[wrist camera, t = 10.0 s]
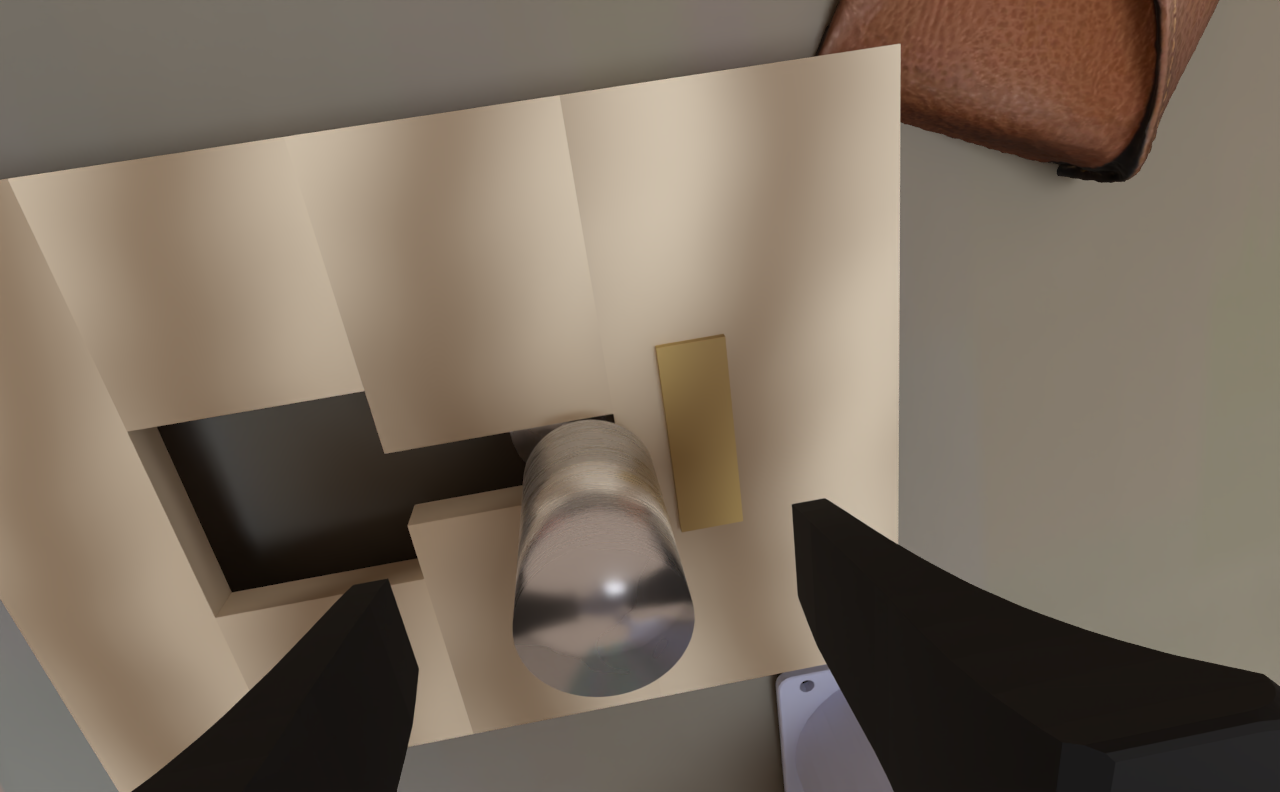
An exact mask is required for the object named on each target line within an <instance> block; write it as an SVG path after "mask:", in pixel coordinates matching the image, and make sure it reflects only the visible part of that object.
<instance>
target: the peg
mask: <svg viewBox="0 0 1280 792" xmlns="http://www.w3.org/2000/svg"><path fill="white" fill-rule="evenodd" d="M510 435H511V438H512V442H513V444H514V446H515V449H516V451H517V452H518V454H519V455H520V457H521V458H522V460H523V461H524V462H525V463H526V466H525V470H524V477H523V490H522V504H521V518H520V531H519V545H518V558H517V572H516V585H515V599H514V613H513V639H514V645H515V647H516V650H517V653H518V655H519V657H520V659H521V660H522V662H523V663H524V665H525V666H526V667H527V669H528V670H529V671H530V672H531V673H532V674H533V675H534V676H535V677H537V678H538V679H539V680H541V681H542V682H543V683H545V684H547V685H549V686H551V687H552V688H555V689H557V690H560V691H562V692H566V693H569V694H573V695H578V696H585V697H608V696H615V695H620V694H625V693H629V692H632V691H634V690H637V689H640V688H642V687H644V686H646V685H649V684H650V683H652V682H654V681H655V680H657V679H659V678H660V677H661V676H663V675H664V674H665V673H667V672H668V671H669V670H670V669H671V668H672V667H673V666H674V665H675V664H676V663H677V662H678V660H679V659H680V658H681V657H682V655H683V654H684V652H685V650H686V649H687V647H688V645H689V642H690V640H691V637H692V634H693V630H694V622H695V615H694V607H693V602H692V598H691V595H690V591H689V588H688V584H687V581H686V577H685V574H684V570H683V567H682V563H681V559H680V556H679V552H678V549H677V545H676V542H675V538H674V535H673V531H672V528H671V524H670V521H669V517H668V514H667V510H666V507H665V503H664V500H663V496H662V493H661V489H660V486H659V482H658V479H657V475H656V471H655V468H654V464H653V461H652V458H651V456H650V453H649V451H648V450H647V448H646V446H645V445H644V444H643V442H642V441H641V440H640V439H639V438H638V437H637V436H636V435H635V434H633V433H632V432H631V431H629V430H627V429H626V428H624V427H622V426H620V425H617V424H615V422H614V417H613V414H608V415H603V416H597V417H591V418H586V419H580V420H574V421H569V422H563V423H557V424H552V425H546V426H540V427H534V428H529V429H523V430H517V431H512V432H510Z"/></svg>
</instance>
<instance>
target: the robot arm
mask: <svg viewBox="0 0 1280 792" xmlns="http://www.w3.org/2000/svg"><path fill="white" fill-rule="evenodd" d="M792 517H793V532H794V547H795V562H796V578H797V593H798V598H799V601H800V604H801V606H802V609H803V612H804V614H805V617H806V620H807V622H808V625H809V627H810V630H811V632H812V635H813V637H814V640H815V642H816V645H817V647H818V649H819V651H820V653H821V654H822V656H823V658H824V660H825V662H826V664H825V665H820V666H815V667H810V668H805V669H799V670H794V671H789V672H784V673H782V674H781V675H779V677H778V678H777V680H776V695H777V707H778V719H779V731H780V742H781V754H782V766H783V778H784V790H785V792H1280V686H1279V685H1277V684H1276V683H1275V682H1273V681H1272V680H1271V679H1269V678H1268V677H1267V676H1265V675H1264V674H1260V673H1256V672H1251V671H1246V670H1242V669H1237V668H1232V667H1227V666H1223V665H1218V664H1213V663H1209V662H1204V661H1199V660H1195V659H1190V658H1185V657H1181V656H1176V655H1172V654H1168V653H1164V652H1161V651H1157V650H1153V649H1150V648H1146V647H1142V646H1139V645H1135V644H1131V643H1128V642H1124V641H1120V640H1117V639H1114V638H1111V637H1107V636H1104V635H1101V634H1098V633H1094V632H1091V631H1088V630H1085V629H1082V628H1079V627H1076V626H1073V625H1071V624H1068V623H1065V622H1062V621H1059V620H1056V619H1054V618H1051V617H1048V616H1045V615H1042V614H1040V613H1037V612H1035V611H1032V610H1029V609H1027V608H1024V607H1022V606H1019V605H1017V604H1015V603H1012V602H1010V601H1008V600H1005V599H1003V598H1001V597H999V596H996V595H994V594H992V593H989V592H987V591H985V590H982V589H980V588H978V587H976V586H974V585H972V584H970V583H968V582H966V581H964V580H962V579H960V578H958V577H956V576H954V575H952V574H950V573H948V572H946V571H944V570H943V569H941V568H939V567H937V566H935V565H933V564H931V563H929V562H928V561H926V560H924V559H922V558H920V557H919V556H917V555H915V554H913V553H912V552H910V551H908V550H907V549H905V548H903V547H902V546H900V545H898V544H897V543H895V542H893V541H892V540H890V539H888V538H887V537H885V536H884V535H882V534H880V533H879V532H877V531H876V530H874V529H873V528H871V527H869V526H868V525H866V524H865V523H863V522H862V521H860V520H859V519H857V518H855V517H854V516H852V515H851V514H849V513H848V512H846V511H845V510H843V509H842V508H840V507H839V506H837V505H835V504H834V503H832V502H831V501H829V500H827V499H826V498H823V499H817V500H812V501H806V502H801V503H795V504H792ZM418 674H419V667H418V664H417V661H416V658H415V655H414V652H413V650H412V647H411V644H410V641H409V638H408V635H407V632H406V629H405V626H404V623H403V620H402V617H401V614H400V611H399V608H398V606H397V603H396V600H395V597H394V594H393V591H392V588H391V585H390V582H389V579H383V580H377V581H372V582H366V583H361V584H355V585H353V586H352V587H350V588H349V589H348V590H347V591H346V592H345V593H344V594H343V595H342V596H341V597H340V598H339V599H338V600H337V601H336V602H335V603H334V604H333V605H332V606H331V608H330V609H329V610H328V611H327V612H326V613H325V614H324V615H323V616H322V617H321V618H320V619H319V620H318V621H317V622H316V623H315V624H314V626H313V627H312V628H311V629H310V630H309V631H308V632H307V633H306V634H305V635H304V636H303V637H302V638H301V639H300V640H299V641H298V642H297V643H296V644H295V646H294V647H293V648H292V649H291V650H290V651H289V652H288V653H287V654H286V655H285V656H284V657H283V658H282V659H281V660H280V661H279V662H278V663H277V664H276V665H275V666H274V667H273V668H272V669H271V670H270V671H269V672H268V673H267V674H266V675H265V676H264V677H263V678H262V679H261V680H260V681H259V682H258V683H257V684H256V685H255V686H254V687H253V688H252V689H251V690H250V691H249V692H248V693H247V694H246V695H244V696H243V697H242V698H241V699H240V700H239V701H238V702H237V703H236V704H235V705H234V706H233V707H232V708H231V709H230V710H229V711H228V712H227V713H226V714H225V715H224V716H223V717H221V718H220V719H219V720H218V721H217V722H216V723H215V724H214V725H213V726H212V727H210V728H209V729H208V730H207V731H206V732H205V733H204V734H202V735H201V736H200V737H199V738H198V739H197V740H196V741H194V742H193V743H192V744H191V745H189V746H188V747H187V748H186V749H185V750H183V751H182V752H181V753H180V754H179V755H177V756H176V757H175V758H174V759H173V760H171V761H170V762H169V763H168V764H167V765H165V766H164V767H163V768H162V769H160V770H159V771H158V772H157V773H155V774H154V775H153V776H152V777H150V778H149V779H148V780H146V781H145V782H144V783H142V784H141V785H139V786H138V787H137V788H135V789H134V790H133V791H131V792H397V788H398V784H399V780H400V776H401V772H402V768H403V764H404V760H405V755H406V751H407V747H408V743H409V739H410V735H411V730H412V726H413V719H414V711H415V704H416V694H417V684H418ZM806 680H809V681H808V682H806V683H802V682H804V681H806Z"/></svg>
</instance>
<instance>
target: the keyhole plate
mask: <svg viewBox="0 0 1280 792" xmlns="http://www.w3.org/2000/svg"><path fill="white" fill-rule="evenodd" d="M900 75H901V44H894V45H888V46H881V47H874V48H868V49H861V50H855V51H848V52H841V53H835V54H828V55H822V56H815V57H808V58H802V59H795V60H789V61H782V62H775V63H769V64H762V65H756V66H749V67H742V68H736V69H729V70H722V71H716V72H709V73H703V74H696V75H689V76H683V77H676V78H670V79H663V80H656V81H650V82H643V83H637V84H630V85H623V86H617V87H610V88H604V89H597V90H590V91H584V92H577V93H571V94H564V95H557V96H551V97H544V98H538V99H531V100H524V101H518V102H511V103H505V104H498V105H491V106H485V107H478V108H471V109H465V110H458V111H452V112H445V113H438V114H432V115H425V116H419V117H412V118H405V119H399V120H392V121H386V122H379V123H372V124H366V125H359V126H353V127H346V128H339V129H333V130H326V131H320V132H313V133H306V134H300V135H293V136H287V137H280V138H273V139H267V140H260V141H254V142H247V143H240V144H234V145H227V146H220V147H214V148H207V149H201V150H194V151H187V152H181V153H174V154H168V155H161V156H154V157H148V158H141V159H135V160H128V161H121V162H115V163H108V164H102V165H95V166H88V167H82V168H75V169H69V170H62V171H55V172H49V173H42V174H36V175H29V176H22V177H16V178H9V179H3V180H0V599H1V601H2V602H3V604H4V606H5V607H6V609H7V610H8V612H9V614H10V615H11V617H12V619H13V620H14V622H15V623H16V625H17V627H18V628H19V630H20V632H21V633H22V635H23V636H24V638H25V640H26V641H27V643H28V645H29V646H30V648H31V649H32V651H33V653H34V654H35V656H36V658H37V659H38V661H39V662H40V664H41V666H42V667H43V669H44V671H45V672H46V674H47V675H48V677H49V679H50V680H51V682H52V684H53V685H54V687H55V688H56V690H57V692H58V693H59V695H60V697H61V698H62V700H63V701H64V703H65V705H66V706H67V708H68V710H69V711H70V713H71V714H72V716H73V718H74V719H75V721H76V723H77V724H78V726H79V727H80V729H81V731H82V732H83V734H84V736H85V737H86V739H87V740H88V742H89V744H90V745H91V747H92V749H93V750H94V752H95V753H96V755H97V757H98V758H99V760H100V762H101V763H102V765H103V766H104V768H105V770H106V771H107V773H108V775H109V776H110V778H111V779H112V781H113V783H114V784H115V786H116V788H117V789H118V791H119V792H131V791H133V790H134V789H135V788H137V787H138V786H139V785H141V784H142V783H144V782H145V781H146V780H148V779H149V778H150V777H152V776H153V775H154V774H155V773H157V772H158V771H159V770H160V769H162V768H163V767H164V766H165V765H167V764H168V763H169V762H170V761H171V760H173V759H174V758H175V757H176V756H177V755H179V754H180V753H181V752H182V751H183V750H185V749H186V748H187V747H188V746H189V745H191V744H192V743H193V742H194V741H196V740H197V739H198V738H199V737H200V736H201V735H202V734H204V733H205V732H206V731H207V730H208V729H209V728H210V727H212V726H213V725H214V724H215V723H216V722H217V721H218V720H219V719H220V718H221V717H223V716H224V715H225V714H226V713H227V712H228V711H229V710H230V709H231V708H232V707H233V706H234V705H235V704H236V703H237V702H238V701H239V700H240V699H241V698H242V697H243V696H244V695H246V694H247V693H248V692H249V691H250V690H251V689H252V688H253V687H254V686H255V685H256V684H257V683H258V682H259V681H260V680H261V679H262V678H263V677H264V676H265V675H266V674H267V673H268V672H269V671H270V670H271V669H272V668H273V667H274V666H275V665H276V664H277V663H278V662H279V661H280V660H281V659H282V658H283V657H284V656H285V655H286V654H287V653H288V652H289V651H290V650H291V649H292V648H293V647H294V646H295V644H296V643H297V642H298V641H299V640H300V639H301V638H302V637H303V636H304V635H305V634H306V633H307V632H308V631H309V630H310V629H311V628H312V627H313V626H314V624H315V623H316V622H317V621H318V620H319V619H320V618H321V617H322V616H323V615H324V614H325V613H326V612H327V611H328V610H329V609H330V608H331V606H332V605H333V604H334V603H335V602H336V601H337V600H338V599H339V598H340V597H341V596H342V595H343V594H344V593H345V592H346V591H347V590H348V589H349V588H350V587H352V586H353V585H355V584H361V583H366V582H372V581H377V580H383V579H389V582H390V585H391V588H392V591H393V594H394V597H395V600H396V603H397V606H398V608H399V611H400V614H401V617H402V620H403V623H404V626H405V629H406V632H407V635H408V638H409V641H410V644H411V647H412V650H413V652H414V655H415V658H416V661H417V664H418V667H419V674H418V684H417V694H416V704H415V711H414V719H413V726H412V730H411V735H410V739H409V743H408V747H410V746H415V745H420V744H425V743H430V742H436V741H441V740H446V739H451V738H456V737H461V736H466V735H471V734H476V733H481V732H486V731H491V730H496V729H501V728H506V727H511V726H516V725H521V724H527V723H532V722H537V721H542V720H547V719H552V718H557V717H562V716H567V715H572V714H577V713H582V712H587V711H592V710H597V709H602V708H607V707H612V706H618V705H623V704H628V703H633V702H638V701H643V700H648V699H653V698H658V697H663V696H668V695H673V694H678V693H683V692H688V691H693V690H698V689H703V688H709V687H714V686H719V685H724V684H729V683H734V682H739V681H744V680H749V679H754V678H759V677H764V676H769V675H774V674H779V673H784V672H789V671H794V670H799V669H805V668H810V667H815V666H820V665H825V664H826V662H825V660H824V658H823V656H822V654H821V653H820V651H819V649H818V647H817V645H816V642H815V640H814V637H813V635H812V632H811V630H810V627H809V625H808V622H807V620H806V617H805V614H804V612H803V609H802V606H801V604H800V601H799V598H798V593H797V578H796V562H795V547H794V532H793V517H792V504H795V503H801V502H806V501H812V500H817V499H823V498H826V499H827V500H829V501H831V502H832V503H834V504H835V505H837V506H839V507H840V508H842V509H843V510H845V511H846V512H848V513H849V514H851V515H852V516H854V517H855V518H857V519H859V520H860V521H862V522H863V523H865V524H866V525H868V526H869V527H871V528H873V529H874V530H876V531H877V532H879V533H880V534H882V535H884V536H885V537H887V538H888V539H890V540H892V541H893V542H895V543H897V544H898V481H899V278H900ZM362 391H365V394H366V397H367V400H368V403H369V407H370V410H371V413H372V416H373V419H374V422H375V425H376V429H377V432H378V435H379V438H380V441H381V444H382V447H383V451H384V454H387V453H392V452H398V451H404V450H409V449H415V448H421V447H426V446H432V445H438V444H443V443H449V442H455V441H461V440H466V439H472V438H478V437H483V436H489V435H495V434H500V433H506V432H512V431H517V430H523V429H529V428H534V427H540V426H546V425H552V424H557V423H563V422H569V421H574V420H580V419H586V418H591V417H597V416H603V415H608V414H613V417H614V422H615V424H617V425H620V426H622V427H624V428H626V429H627V430H629V431H631V432H632V433H633V434H635V435H636V436H637V437H638V438H639V439H640V440H641V441H642V442H643V444H644V445H645V446H646V448H647V450H648V451H649V453H650V456H651V458H652V461H653V464H654V468H655V471H656V475H657V479H658V482H659V486H660V489H661V493H662V496H663V500H664V503H665V507H666V510H667V514H668V517H669V521H670V524H671V528H672V531H673V535H674V538H675V542H676V545H677V549H678V552H679V556H680V559H681V563H682V567H683V570H684V574H685V577H686V581H687V584H688V588H689V591H690V595H691V598H692V602H693V607H694V615H695V622H694V630H693V634H692V637H691V640H690V642H689V645H688V647H687V649H686V650H685V652H684V654H683V655H682V657H681V658H680V659H679V660H678V662H677V663H676V664H675V665H674V666H673V667H672V668H671V669H670V670H669V671H668V672H667V673H665V674H664V675H663V676H661V677H660V678H659V679H657V680H655V681H654V682H652V683H650V684H649V685H646V686H644V687H642V688H640V689H637V690H634V691H632V692H629V693H625V694H620V695H615V696H608V697H585V696H578V695H573V694H569V693H566V692H562V691H560V690H557V689H555V688H552V687H551V686H549V685H547V684H545V683H543V682H542V681H541V680H539V679H538V678H537V677H535V676H534V675H533V674H532V673H531V672H530V671H529V670H528V669H527V667H526V666H525V665H524V663H523V662H522V660H521V659H520V657H519V655H518V653H517V650H516V647H515V645H514V639H513V613H514V599H515V585H516V572H517V558H518V545H519V531H520V518H521V504H522V490H523V485H521V486H516V487H510V488H505V489H499V490H493V491H488V492H482V493H477V494H471V495H466V496H460V497H455V498H449V499H443V500H438V501H432V502H427V503H421V504H416V505H414V508H413V511H412V514H411V517H410V520H409V523H408V529H409V532H410V536H411V539H412V542H413V545H414V548H415V551H416V554H417V559H411V560H406V561H400V562H395V563H389V564H384V565H379V566H373V567H368V568H362V569H357V570H351V571H346V572H341V573H335V574H330V575H324V576H319V577H313V578H308V579H303V580H297V581H292V582H286V583H281V584H275V585H270V586H265V587H259V588H254V589H248V590H243V591H237V592H231V590H230V588H229V585H228V583H227V581H226V579H225V577H224V574H223V572H222V570H221V568H220V566H219V563H218V561H217V559H216V557H215V555H214V552H213V550H212V548H211V546H210V543H209V541H208V539H207V537H206V535H205V532H204V530H203V528H202V526H201V524H200V521H199V519H198V517H197V515H196V513H195V510H194V508H193V506H192V504H191V502H190V499H189V497H188V495H187V493H186V491H185V488H184V486H183V484H182V482H181V479H180V477H179V475H178V473H177V471H176V468H175V466H174V464H173V462H172V460H171V457H170V455H169V453H168V451H167V449H166V446H165V444H164V442H163V440H162V438H161V435H160V433H159V431H158V429H157V426H163V425H169V424H175V423H181V422H187V421H192V420H198V419H204V418H210V417H216V416H222V415H228V414H233V413H239V412H245V411H251V410H257V409H263V408H268V407H274V406H280V405H286V404H292V403H298V402H304V401H309V400H315V399H321V398H327V397H333V396H339V395H344V394H350V393H356V392H362Z"/></svg>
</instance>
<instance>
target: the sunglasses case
mask: <svg viewBox="0 0 1280 792" xmlns="http://www.w3.org/2000/svg"><path fill="white" fill-rule="evenodd" d="M1218 2H1219V0H840V1H839V3H838V6H837V8H836V11H835V13H834V16H833V18H832V20H831V23H830V24H829V25H828V26H827V28H826V30H825V33H824V35H823V38H822V40H821V43H820V46H819V48H818V51H817V54H816V56H822V55H828V54H835V53H841V52H848V51H855V50H861V49H868V48H874V47H881V46H888V45H894V44H901V75H900V122H902V123H904V124H909V125H912V126H915V127H920V128H921V129H923V130H927V131H932V132H936V133H940V134H944V135H946V136H948V137H952V138H957V139H961V140H964V141H966V142H969V143H974V144H976V145H982V146H984V147H987V148H988V149H994V150H999V151H1001V152H1002V153H1009V154H1015V155H1018V156H1019V157H1022V158H1025V159H1029V160H1037V161H1039V162H1048V163H1051V162H1052V163H1057V164H1059V168H1058V170H1057V175H1058V176H1065V177H1070V178H1079V179H1082V180H1095V181H1097V182H1101V183H1102V182H1110V183H1112V182H1122V181H1123V182H1125V181H1126V180H1128V179H1130V178H1132V177H1133V176H1135V175H1136V174H1137V173H1138V172H1139V171H1140V169H1141V167H1142V165H1143V164H1144V162H1145V160H1146V159H1147V156H1148V154H1149V153H1150V151H1151V148H1152V142H1153V141H1154V139H1155V137H1156V133H1157V128H1158V125H1159V122H1160V119H1161V117H1162V115H1163V113H1164V110H1165V108H1166V106H1167V104H1168V102H1169V99H1170V98H1171V96H1172V94H1173V92H1174V90H1175V89H1176V86H1177V84H1178V81H1179V79H1180V77H1181V76H1182V74H1183V72H1184V70H1185V68H1186V66H1187V64H1188V62H1189V60H1190V58H1191V56H1192V54H1193V53H1194V51H1195V49H1196V47H1197V44H1198V42H1199V40H1200V38H1201V36H1202V35H1203V32H1204V30H1205V28H1206V26H1207V24H1208V22H1209V20H1210V18H1211V16H1212V14H1213V12H1214V10H1215V8H1216V6H1217V4H1218Z"/></svg>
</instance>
